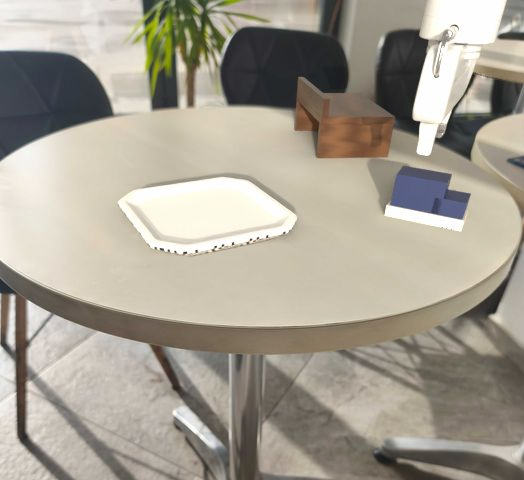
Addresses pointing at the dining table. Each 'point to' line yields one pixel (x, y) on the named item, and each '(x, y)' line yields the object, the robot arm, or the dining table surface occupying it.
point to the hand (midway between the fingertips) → (430, 144)
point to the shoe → (427, 199)
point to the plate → (205, 215)
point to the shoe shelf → (343, 122)
